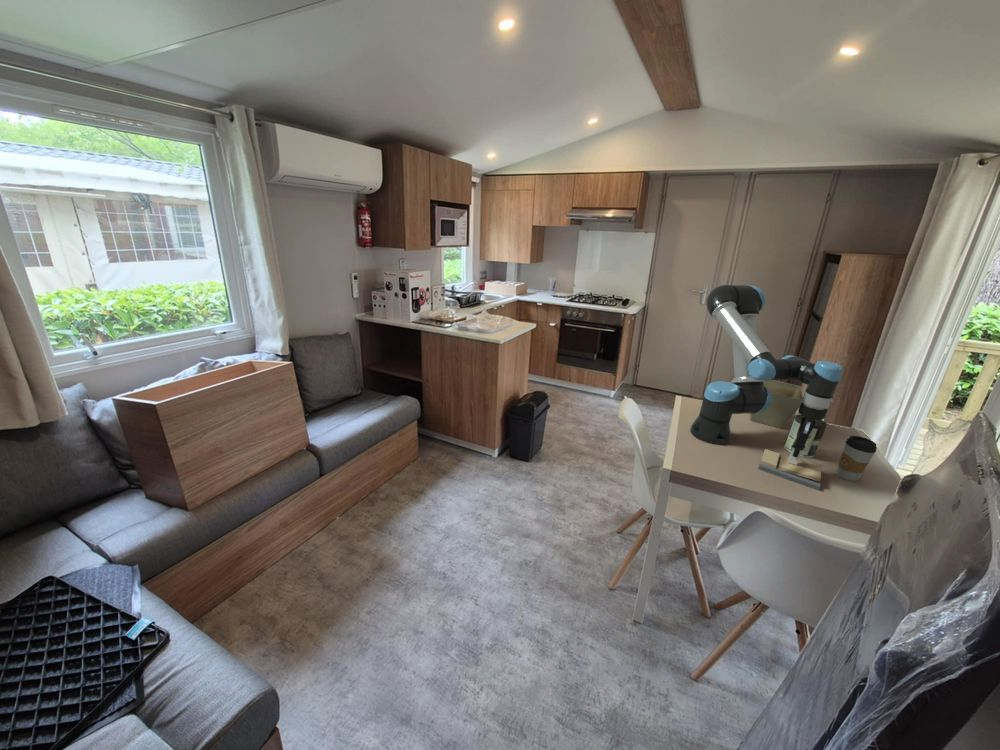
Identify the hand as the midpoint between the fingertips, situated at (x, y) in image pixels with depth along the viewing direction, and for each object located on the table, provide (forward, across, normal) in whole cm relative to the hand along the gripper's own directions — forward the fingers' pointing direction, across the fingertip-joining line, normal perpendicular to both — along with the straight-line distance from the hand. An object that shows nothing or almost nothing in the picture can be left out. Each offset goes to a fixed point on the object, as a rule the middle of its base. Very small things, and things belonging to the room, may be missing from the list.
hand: (792, 462), depth 143 cm
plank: (+1, 0, -3) cm, 3 cm away
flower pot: (+4, +43, +12) cm, 45 cm away
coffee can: (+4, +20, -2) cm, 20 cm away
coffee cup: (+4, +11, -17) cm, 21 cm away
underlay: (+3, 0, 0) cm, 3 cm away
